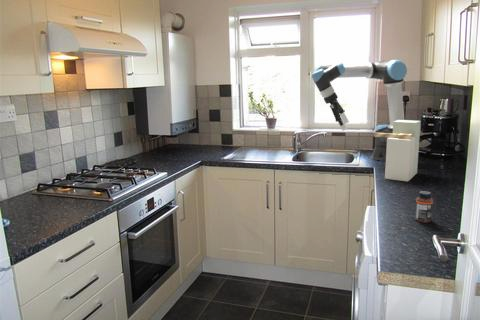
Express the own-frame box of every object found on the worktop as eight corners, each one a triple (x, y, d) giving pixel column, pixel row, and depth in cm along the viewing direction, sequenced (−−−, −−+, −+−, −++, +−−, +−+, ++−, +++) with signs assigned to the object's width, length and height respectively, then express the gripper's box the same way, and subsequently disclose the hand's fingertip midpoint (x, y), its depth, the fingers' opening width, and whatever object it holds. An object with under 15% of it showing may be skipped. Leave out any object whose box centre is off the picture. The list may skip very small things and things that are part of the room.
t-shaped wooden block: (373, 137, 225) (373, 133, 225) (376, 135, 230) (376, 131, 230) (409, 139, 215) (410, 135, 214) (412, 138, 220) (412, 133, 219)
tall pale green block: (384, 178, 223) (387, 123, 217) (395, 170, 241) (398, 119, 235) (407, 181, 217) (411, 124, 211) (416, 173, 234) (420, 120, 228)
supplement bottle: (418, 216, 162) (420, 189, 160) (434, 220, 158) (436, 192, 156) (411, 220, 158) (414, 192, 156) (427, 224, 154) (429, 195, 152)
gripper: (325, 92, 250) (342, 122, 254) (320, 103, 229) (338, 135, 232) (337, 87, 247) (353, 117, 251) (332, 97, 225) (350, 130, 229)
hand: (346, 126), depth 242 cm, fingers open, 13 cm apart
